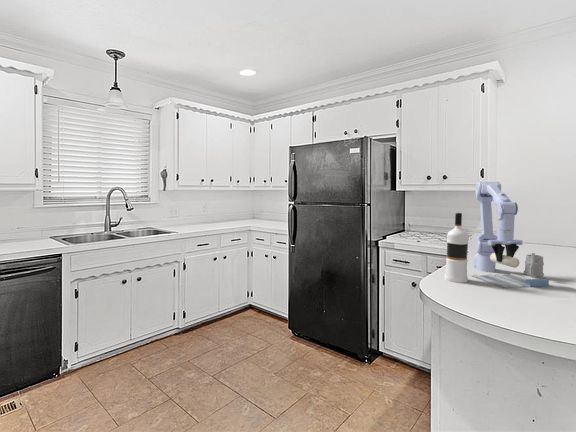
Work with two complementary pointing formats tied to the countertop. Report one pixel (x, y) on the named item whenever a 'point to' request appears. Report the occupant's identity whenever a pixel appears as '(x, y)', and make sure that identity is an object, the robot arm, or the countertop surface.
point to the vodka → (457, 253)
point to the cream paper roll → (506, 260)
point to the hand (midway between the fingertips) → (504, 261)
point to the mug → (534, 266)
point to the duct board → (512, 281)
